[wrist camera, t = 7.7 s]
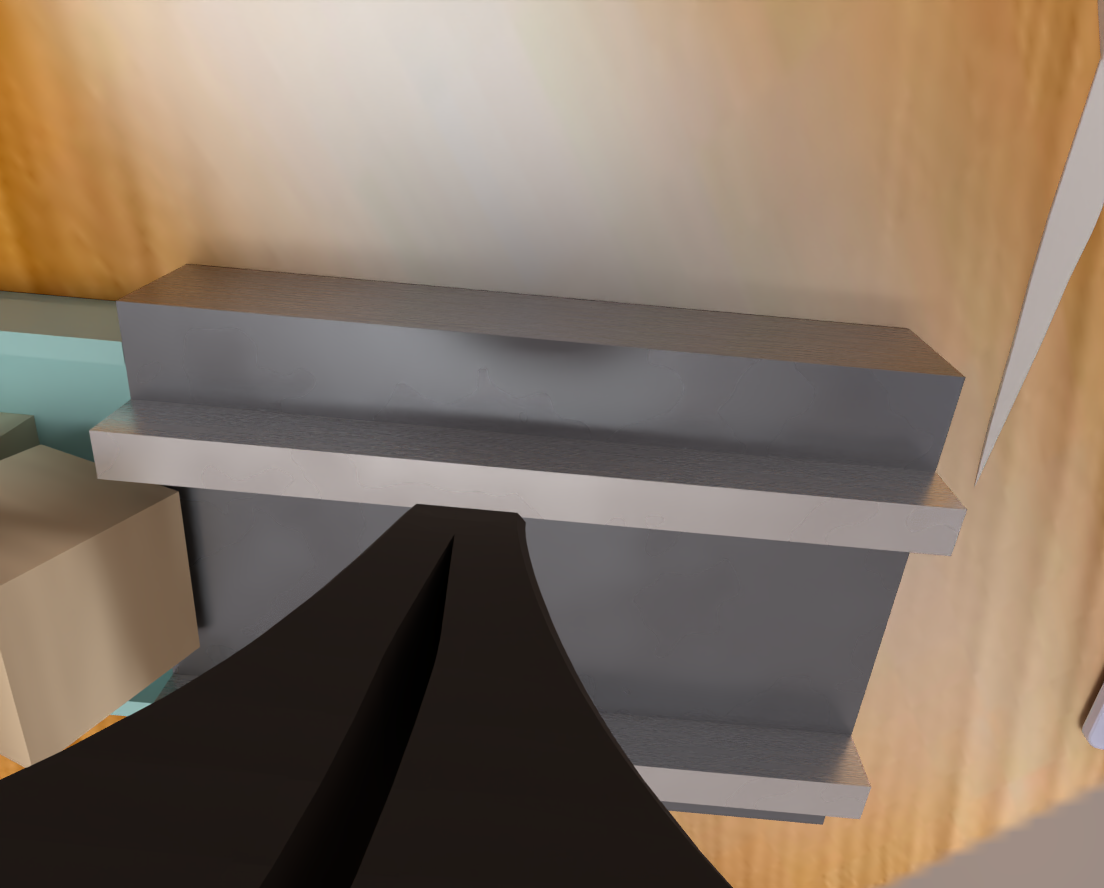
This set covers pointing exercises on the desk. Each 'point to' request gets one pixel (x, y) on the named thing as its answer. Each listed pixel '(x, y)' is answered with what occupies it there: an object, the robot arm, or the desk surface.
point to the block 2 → (84, 597)
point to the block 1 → (17, 434)
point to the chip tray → (65, 382)
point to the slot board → (566, 492)
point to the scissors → (1057, 247)
